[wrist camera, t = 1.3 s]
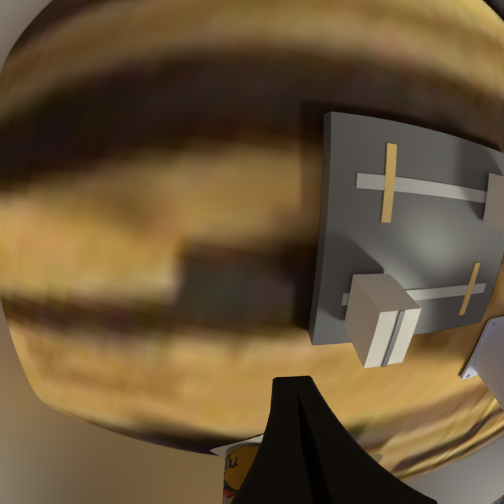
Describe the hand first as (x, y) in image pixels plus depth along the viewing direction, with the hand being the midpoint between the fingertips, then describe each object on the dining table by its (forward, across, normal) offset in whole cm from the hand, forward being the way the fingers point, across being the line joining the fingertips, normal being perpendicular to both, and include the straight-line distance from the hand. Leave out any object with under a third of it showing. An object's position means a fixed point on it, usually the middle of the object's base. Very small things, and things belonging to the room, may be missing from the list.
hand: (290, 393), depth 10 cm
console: (+8, -11, -4) cm, 14 cm away
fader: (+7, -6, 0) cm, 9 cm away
